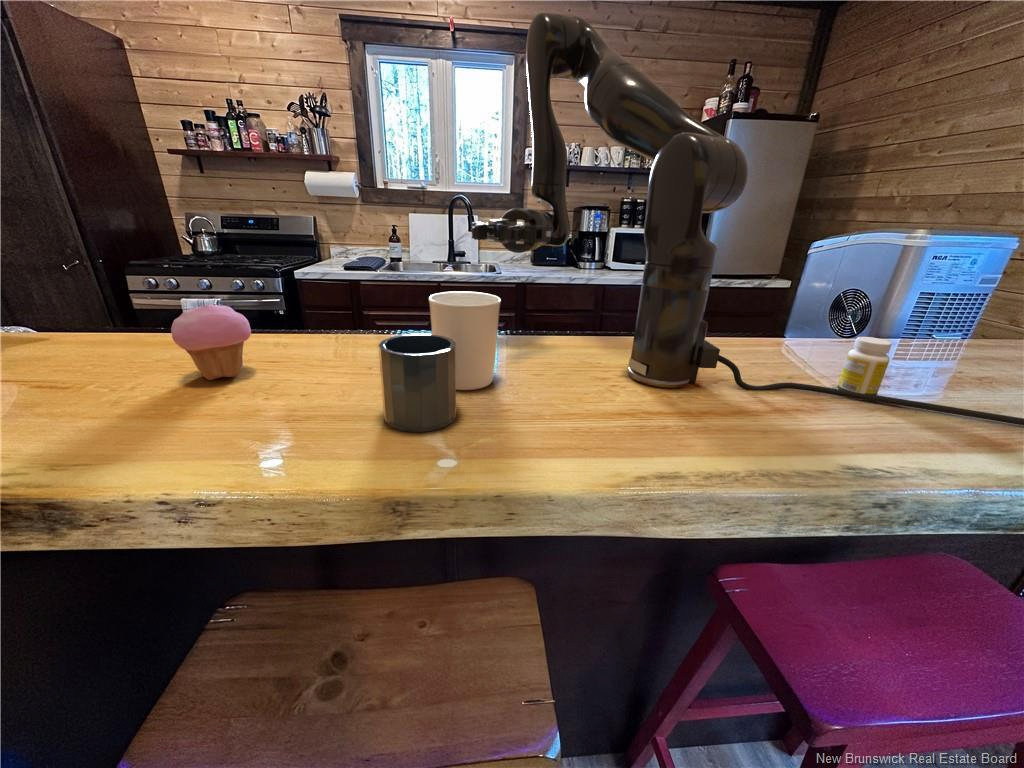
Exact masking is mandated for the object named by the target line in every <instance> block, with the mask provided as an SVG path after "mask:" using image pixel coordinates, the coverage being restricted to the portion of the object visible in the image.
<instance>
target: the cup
mask: <svg viewBox="0 0 1024 768" xmlns="http://www.w3.org/2000/svg"><path fill="white" fill-rule="evenodd" d="M378 357H379V369H380V370H379V371H380V384H381V398H382V409H383V415H384V416H383V417H384V421H385V423H386V424H387V425H388V426H389V427H391V428H392V429H395V430H398V431H401V432H408V433H424V432H426V433H427V432H433V431H436V430H440V429H442V428H443V429H444V428H446V427H447V426H449V425H450V424H452V423H453V422H454V421H455V419H456V417H457V410H458V409H457V407H458V406H457V403H458V401H457V390H456V342H454V341H453V340H452V339H450V338H447V337H444V336H440V335H433V334H432V333H408V334H407V333H406V334H400V335H394V336H390V337H388V338H386V339H385V338H384V339H382V340H381V341H380V342H379V343H378Z"/></svg>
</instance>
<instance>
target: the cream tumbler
mask: <svg viewBox="0 0 1024 768" xmlns="http://www.w3.org/2000/svg"><path fill="white" fill-rule="evenodd" d="M501 302H502V299H501V298H500V297H499V296H497V295H496V294H491V293H485V292H478V291H443V292H436V293H433V294H430V296H429V297H428V303H429V315H430V327H431V334H433V335H440V336H444V337H447V338H450V339H452V340H453V341H454V342H456V391H472V390H479V389H483V388H486V387H488V386H490V385H491V384H492V382H493V381H494V375H495V367H496V356H497V355H496V353H497V345H498V344H497V343H498V331H499V320H500V312H501V311H500V309H501Z"/></svg>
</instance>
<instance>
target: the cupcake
mask: <svg viewBox="0 0 1024 768" xmlns="http://www.w3.org/2000/svg"><path fill="white" fill-rule="evenodd" d="M170 332H171V338H172V340H173V342H174V343H175V344H176V345H177V346H178V348H181V349H182V350H185V352H186V353H188V355H189V356H190V358H191V360H192V361H193V363H194V365H195V367H196V368H197V370H198V371H199V372H200V374H201V375H202V376H203V377H204V378H205V379H206V380H209V381H213V380H216V379H219V378H223V377H224V378H234V377H237V376H239V375H240V373H241V371H242V368H243V366H244V365H243V364H244V363H243V360H244V359H243V350H244V346H245V345H244V344H245V342H247V341H248V340H249V339H250V337H251V335H252V329H251V326H250V322H249V320H248V318H246V317H245V316H244V315H243V314H242V313H240V312H237V311H236V310H234V309H233V308H232V307H230V306H228V305H221V304H218V305H217V304H215V305H214V304H205V305H203V306H199V307H193V308H191V309H188V310H184V311H182V313H181V314H180V315H179V316H178V317H177V318H175V319H174V320H173V322H172V325H171V328H170Z"/></svg>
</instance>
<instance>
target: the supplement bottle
mask: <svg viewBox="0 0 1024 768" xmlns="http://www.w3.org/2000/svg"><path fill="white" fill-rule="evenodd" d="M892 345H893V344H892V342H891V341H889V340H886V339H883V338H880V337H879V338H878V337H872V336H858V337H856V339H855V342H854V344H853V348H854V349H851V350H850V351H848V354H847V355H846V359H845V362H844V365H843V368H842V371H841V374H840V377H839V380H838V384H837V386H836V389H840V390H846V391H852V392H857V393H862V394H872V395H878V393H879V390H880V387H881V385H882V383H883V380H884V377H885V374H886V372H887V369H888V366H889V364H890V356H889V355H888V354H889V353H890V350H891V348H892ZM848 398H849V399H851V398H850V397H848ZM852 399H854V400H857V399H856V398H852ZM858 400H860V401H864V400H863V399H858Z"/></svg>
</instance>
